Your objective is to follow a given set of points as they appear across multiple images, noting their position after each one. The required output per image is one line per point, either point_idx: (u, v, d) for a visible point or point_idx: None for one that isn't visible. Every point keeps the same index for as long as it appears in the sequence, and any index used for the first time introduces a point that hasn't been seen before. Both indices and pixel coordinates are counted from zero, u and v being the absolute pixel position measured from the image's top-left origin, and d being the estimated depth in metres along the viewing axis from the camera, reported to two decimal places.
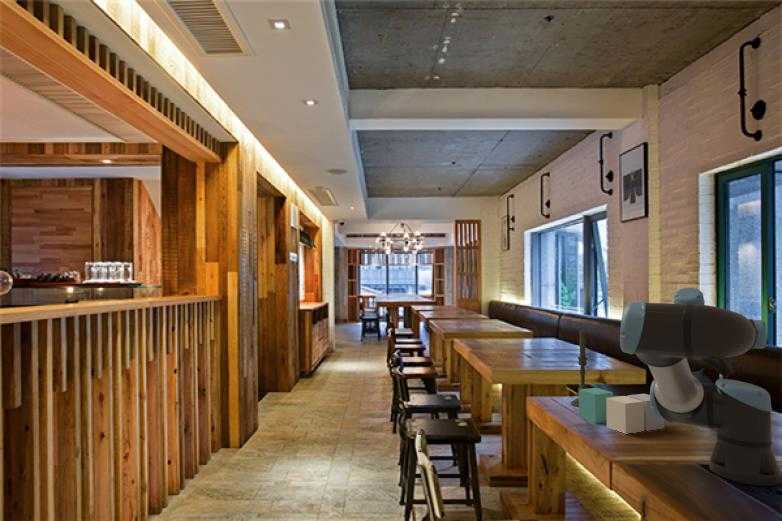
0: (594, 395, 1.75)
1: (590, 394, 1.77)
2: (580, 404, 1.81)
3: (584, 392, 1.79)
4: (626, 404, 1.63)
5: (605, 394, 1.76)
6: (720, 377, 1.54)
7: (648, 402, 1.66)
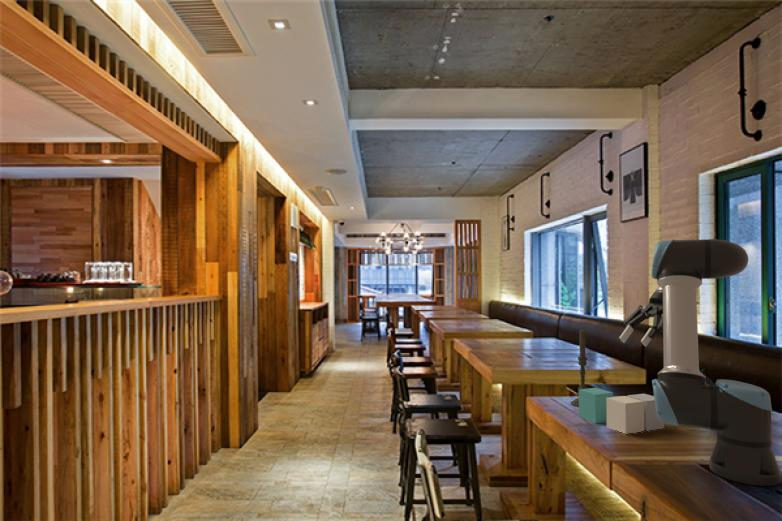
0: (594, 395, 1.75)
1: (590, 394, 1.77)
2: (580, 404, 1.81)
3: (584, 392, 1.79)
4: (626, 404, 1.63)
5: (605, 394, 1.76)
6: (650, 328, 1.81)
7: (648, 402, 1.66)
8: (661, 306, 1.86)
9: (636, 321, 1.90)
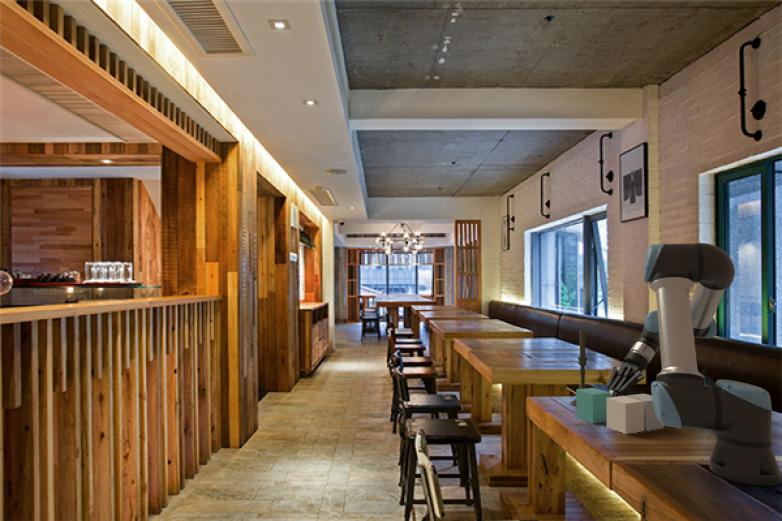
0: (591, 395, 1.75)
1: (587, 394, 1.76)
2: (577, 404, 1.81)
3: (581, 392, 1.79)
4: (626, 404, 1.63)
5: (602, 394, 1.76)
6: (612, 391, 1.82)
7: (648, 402, 1.66)
8: (636, 367, 1.83)
9: (617, 384, 1.84)
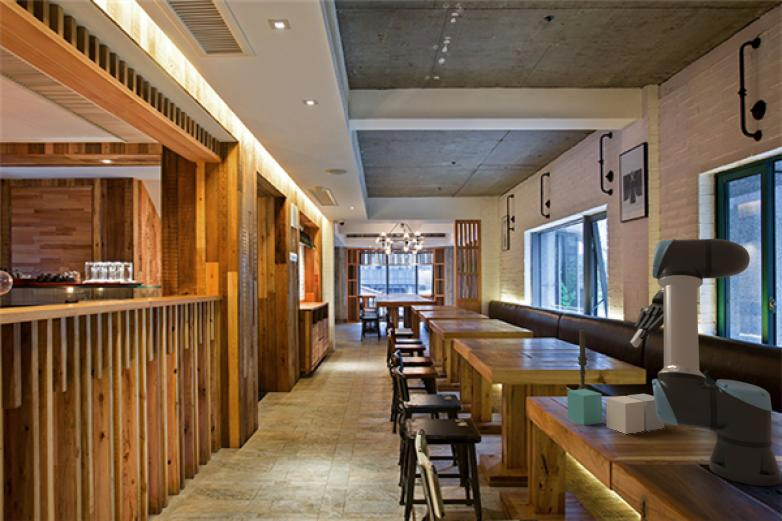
0: (582, 396, 1.73)
1: (578, 395, 1.75)
2: (568, 405, 1.79)
3: (573, 393, 1.77)
4: (626, 404, 1.63)
5: (594, 395, 1.74)
6: (641, 329, 1.84)
7: (648, 402, 1.66)
8: None
9: (645, 323, 1.86)
